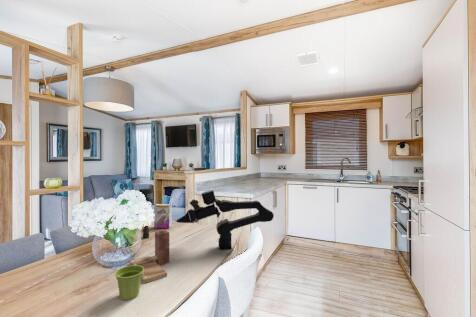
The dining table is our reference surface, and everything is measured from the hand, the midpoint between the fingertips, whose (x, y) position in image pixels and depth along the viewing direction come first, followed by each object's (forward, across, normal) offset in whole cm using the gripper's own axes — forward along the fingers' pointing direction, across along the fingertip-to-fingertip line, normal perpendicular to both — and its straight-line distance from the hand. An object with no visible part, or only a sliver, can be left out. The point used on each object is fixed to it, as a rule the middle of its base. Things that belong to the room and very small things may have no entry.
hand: (178, 221), depth 125 cm
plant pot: (+17, +35, +22) cm, 45 cm away
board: (+16, +16, +16) cm, 28 cm away
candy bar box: (+18, -47, -2) cm, 50 cm away
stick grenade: (+25, -26, +1) cm, 36 cm away
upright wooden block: (+14, +11, +15) cm, 24 cm away
